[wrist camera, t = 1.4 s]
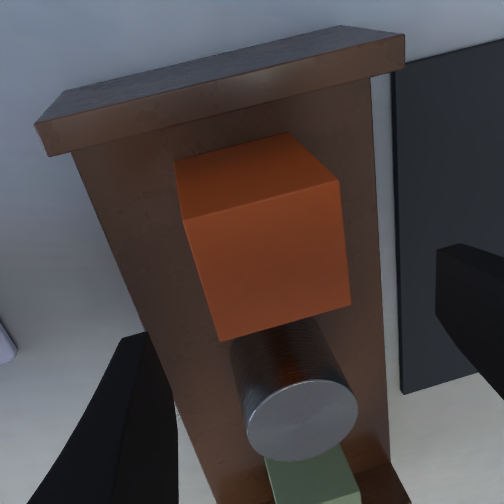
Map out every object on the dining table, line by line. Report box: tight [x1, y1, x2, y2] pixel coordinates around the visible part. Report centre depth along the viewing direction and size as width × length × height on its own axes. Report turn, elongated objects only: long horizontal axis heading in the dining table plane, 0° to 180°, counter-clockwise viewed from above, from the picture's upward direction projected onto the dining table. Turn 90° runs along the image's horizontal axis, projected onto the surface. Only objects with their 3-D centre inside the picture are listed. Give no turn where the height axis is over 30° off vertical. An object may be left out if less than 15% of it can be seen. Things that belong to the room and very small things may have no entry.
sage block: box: [264, 443, 362, 504], centre depth 24 cm, size 4×4×4 cm
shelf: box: [34, 25, 412, 504], centre depth 22 cm, size 11×26×5 cm, turn 11°
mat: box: [391, 39, 504, 395], centre depth 24 cm, size 10×20×1 cm, turn 11°
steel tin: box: [230, 317, 358, 461], centre depth 20 cm, size 5×5×4 cm
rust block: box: [174, 132, 351, 342], centre depth 15 cm, size 4×4×5 cm
